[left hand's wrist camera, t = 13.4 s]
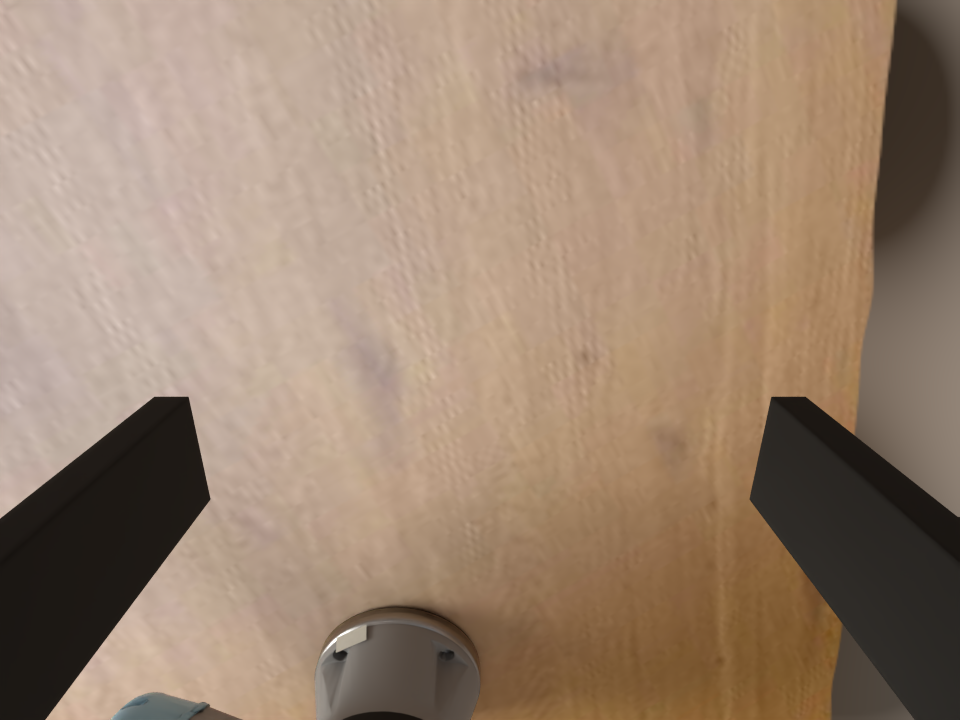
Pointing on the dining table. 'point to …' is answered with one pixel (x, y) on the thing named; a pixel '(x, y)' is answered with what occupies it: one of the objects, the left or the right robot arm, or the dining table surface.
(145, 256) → the dining table surface
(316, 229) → the dining table surface
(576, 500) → the dining table surface
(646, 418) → the dining table surface
